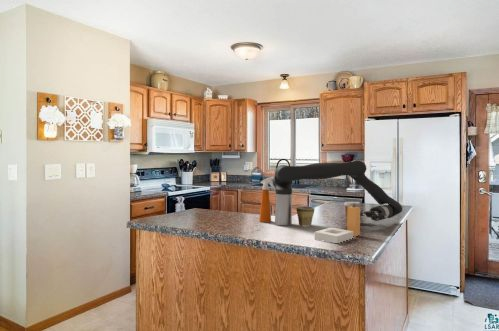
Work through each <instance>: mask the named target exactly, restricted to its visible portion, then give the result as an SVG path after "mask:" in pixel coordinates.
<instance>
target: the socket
mask: <svg viewBox="0 0 499 331" xmlns="http://www.w3.org/2000/svg"><path fill="white" fill-rule="evenodd" d="M352 238H353V239H354V237H353V231H348V230H347V229H343V228H335V227H333V226H332V227H328V228H324V229H320V230H317V231H314V240H316V239H319V240H318V241H320V240H324V241H323V242H325V241H329V242H333V243H332V244H334V243H339V244H341V243H340V242H342V243H344V242H343V241H345V242H347V241H346V240H348V241H350V240H349V239H351V240H353V239H352ZM329 242H328V243H329Z"/></svg>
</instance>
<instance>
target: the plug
mask: <svg viewBox="0 0 499 331" xmlns="http://www.w3.org/2000/svg"><path fill="white" fill-rule="evenodd" d="M360 211H361V207H356V203H352V206H351V207H347V221H346V230H348V231H353V236H358V235H360V236H361V217H360ZM358 237H359V236H358Z"/></svg>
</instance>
